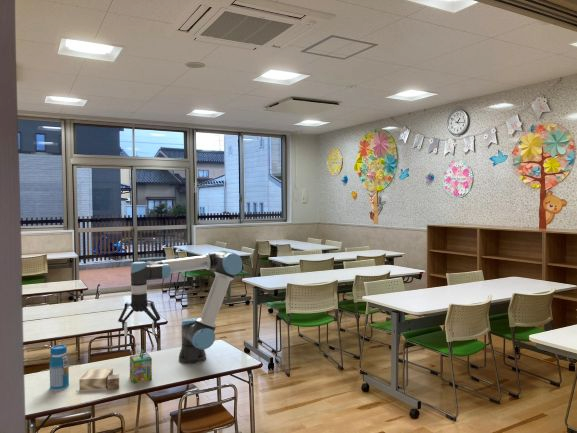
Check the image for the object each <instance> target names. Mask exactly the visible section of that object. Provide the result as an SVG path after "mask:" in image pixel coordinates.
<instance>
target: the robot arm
mask: <svg viewBox="0 0 577 433" xmlns="http://www.w3.org/2000/svg"><path fill="white" fill-rule="evenodd" d="M242 268H243V260H242V258H241V257H240V255H239V254H237V253H235V252H234V251H233V252H231V251H225V250H219V251H213V252H206V253H205V254H203V255H196V256H188V257H183V258H182V257H180V258H172V259H165V260H158V261H156V260H155V261H153V260H149V261H146V262H145V261H135V262H131V264H130V293H131V294H130V295H131V296H130V300H131V301H130V302H131V303H130V302H125V303H124V308H123V310H122V311H121V313H120V316H119V318H118V320H117V323H121V329H122V330H123V333H124V334H123V335H124V337H127V336H128V322H127V320H128V318H130V317H131V315H132V314H133V313H134V312H136V313H138V312H140V313H142V312H144V313H145V314H146V315H147V316H148V317H149V318H150V319H151V320H152V322H151V324H152V328H151V330H152V333H151V334H152V336H154V335H156V329H157V326H158V321H160V320H161V319H162V318H161V316H160V314H159V312H158V310H157V308H156V306H155V303H154V301H151V302H148V293H147V291H148V286H147V285H148V281H153V280H165V279H166V280H167V279H169V278H170V277H171V275H172V274H175V273H183V272H190V271H191V272H192V271H197V270H205V269H206V270H207V271H210V270H212V271H213V270H214V275H215V277H214V280H213V282H212V285H211V287H210V291H209V293H208V295H207V298H206V300H205V303H204V306H203V308H202V311H201V314H200V316H199V317H193V318H192V317H191V318H185V319H182V320H181V326H180V327H181V328H180V329H181V348H180V351H179V355H178V361H179V362H180V363H182V364H189V365H190V364H198V363H197V362H199V363H201V361H202V362H204V361H206V359H207V353H206V349H209V348H211V347H212V346H213V344H214V343H215V341H216V334H215V331H216V328H217V326H216V320H217V318H218V315H219V312H220V310H221V307H222V304H223V302H224V300H225V297H226V293H227V292H228V291H227V290H228V289H229V285H230V283H231V281H233V280H235V278H236V275H237V274H238V273H240V272H241V270H242ZM129 307H131V310H130V311H129V312H128V314H126V312H127V311H128V308H129ZM148 307H150V309H151V310H152V312H153V313H152V312H151V311H150V310H149V308H148ZM125 314H126V316H125V317H124V315H125ZM123 318H124V319H123ZM203 360H204V361H203Z"/></svg>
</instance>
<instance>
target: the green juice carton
mask: <svg viewBox="0 0 577 433" xmlns="http://www.w3.org/2000/svg"><path fill="white" fill-rule="evenodd" d="M152 359H153V358H152V356H150V354H149V353H147V352H146V353H145V350H144V349H141V350H140V354H135V355H130V356H129V379H130V380H131V382H132V383H133V384H138V383H139V384H140V383H144V382H147V381H151V380H152V379H153V377H152V376H153V372H152V370H153V367H152V366H153V364H152V363H153V362H152V361H153V360H152Z"/></svg>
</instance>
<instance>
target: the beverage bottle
mask: <svg viewBox="0 0 577 433" xmlns="http://www.w3.org/2000/svg"><path fill="white" fill-rule="evenodd" d="M67 348H68V347H67V345H65V344H57V345H54V346H52V347H50V355H51V357H50V359H49V362H48V363H49V367H48V370H49V390H52V391H62V390H64V389H67V388H68V387H69V386H70V379H69V377H70V376H69V375H70V374H69V373H70V372H69V368H70V364H69V357H68V355H67V350H68V349H67Z"/></svg>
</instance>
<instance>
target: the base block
mask: <svg viewBox="0 0 577 433" xmlns="http://www.w3.org/2000/svg"><path fill="white" fill-rule="evenodd" d="M109 375H114V369H113V368H104V369H88V370H86V372H85V373H83V375H82V376H81V377H80V378H79V379H78V380H79V387H80V389H79V390H95V389H108V376H109Z"/></svg>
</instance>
